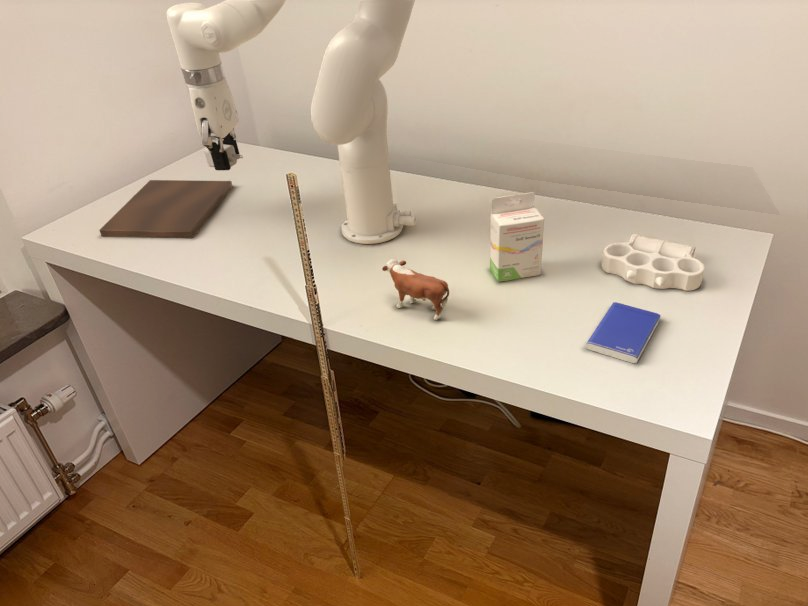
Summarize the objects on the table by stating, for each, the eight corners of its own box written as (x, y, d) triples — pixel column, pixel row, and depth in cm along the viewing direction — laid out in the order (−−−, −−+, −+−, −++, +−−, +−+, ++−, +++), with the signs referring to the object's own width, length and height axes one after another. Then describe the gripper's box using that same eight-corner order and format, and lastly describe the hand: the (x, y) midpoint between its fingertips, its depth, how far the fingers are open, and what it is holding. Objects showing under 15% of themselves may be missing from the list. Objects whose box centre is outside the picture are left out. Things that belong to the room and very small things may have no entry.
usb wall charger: (221, 160, 147) (216, 142, 144) (247, 164, 144) (243, 145, 142) (209, 167, 144) (203, 149, 141) (235, 171, 141) (230, 153, 139)
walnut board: (232, 186, 162) (231, 180, 161) (192, 238, 143) (190, 231, 142) (151, 185, 164) (150, 179, 163) (101, 236, 145) (99, 230, 144)
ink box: (497, 283, 126) (498, 210, 117) (489, 269, 130) (489, 197, 120) (542, 275, 127) (546, 202, 118) (532, 261, 131) (535, 189, 122)
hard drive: (637, 356, 106) (661, 313, 114) (586, 341, 109) (613, 301, 117) (636, 364, 107) (659, 321, 115) (585, 349, 110) (612, 308, 118)
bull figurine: (394, 290, 125) (390, 251, 120) (455, 313, 119) (453, 273, 114) (378, 302, 122) (373, 262, 117) (440, 326, 116) (438, 285, 111)
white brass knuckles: (710, 261, 129) (693, 302, 119) (616, 241, 136) (592, 278, 126) (714, 245, 127) (697, 286, 117) (618, 226, 134) (594, 262, 124)
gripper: (205, 88, 126) (231, 181, 137) (237, 60, 139) (258, 147, 150) (166, 89, 127) (195, 182, 138) (202, 62, 140) (225, 148, 151)
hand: (227, 163), depth 144 cm, fingers closed on usb wall charger, 4 cm apart
